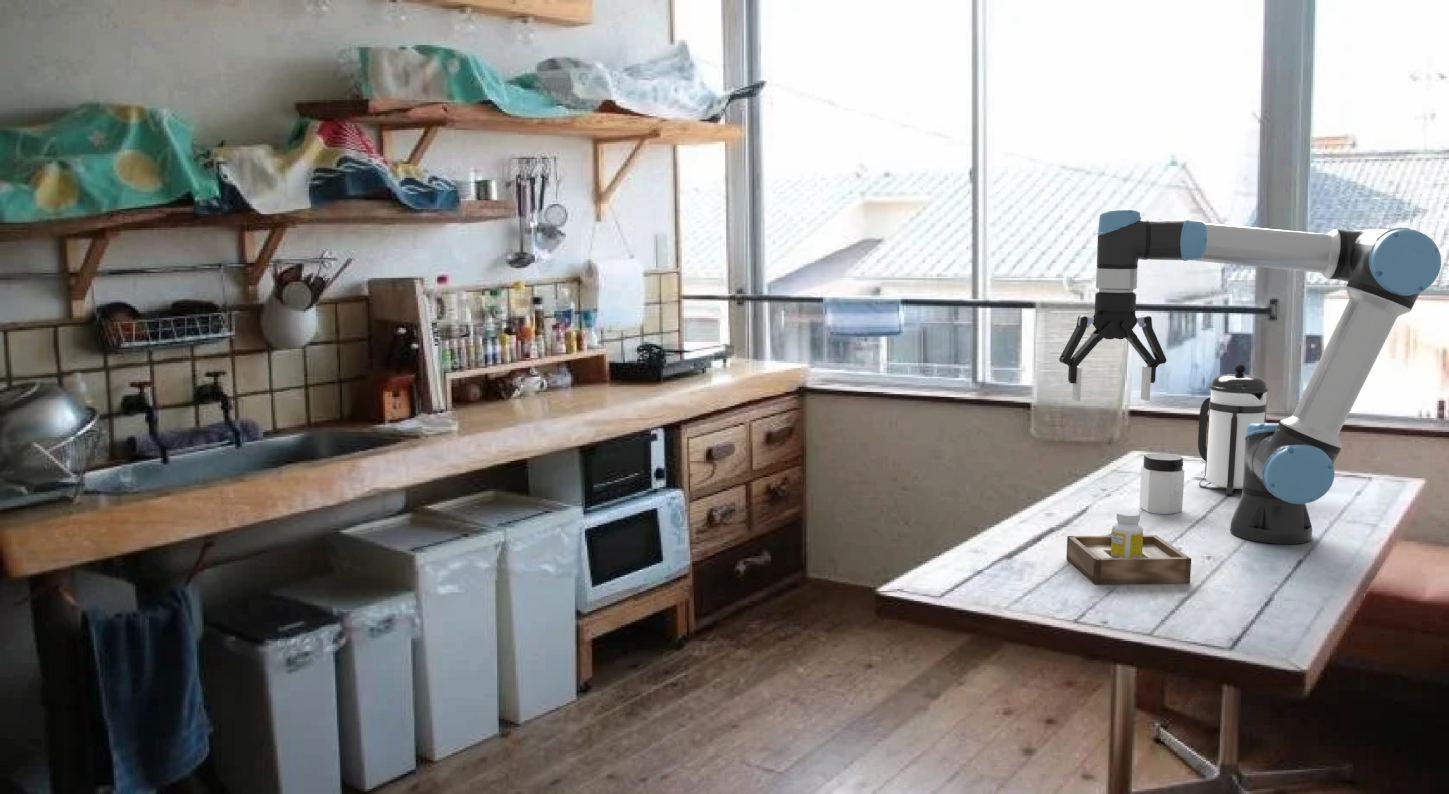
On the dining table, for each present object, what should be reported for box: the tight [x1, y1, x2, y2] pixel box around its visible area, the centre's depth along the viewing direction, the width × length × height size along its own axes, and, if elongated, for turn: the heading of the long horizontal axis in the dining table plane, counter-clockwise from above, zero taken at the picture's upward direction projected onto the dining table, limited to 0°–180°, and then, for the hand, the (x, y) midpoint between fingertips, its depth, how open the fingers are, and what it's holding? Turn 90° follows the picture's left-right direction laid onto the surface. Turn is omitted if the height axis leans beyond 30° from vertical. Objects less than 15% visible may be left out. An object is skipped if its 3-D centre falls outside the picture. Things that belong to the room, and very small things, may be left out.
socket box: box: [1065, 534, 1192, 586], centre depth 223 cm, size 17×16×4 cm
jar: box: [1138, 452, 1185, 515], centre depth 268 cm, size 9×8×12 cm
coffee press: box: [1197, 363, 1270, 497], centre depth 288 cm, size 17×16×30 cm
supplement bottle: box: [1111, 510, 1144, 558], centre depth 222 cm, size 5×5×10 cm
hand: (1110, 400), depth 238 cm, fingers open, 13 cm apart
